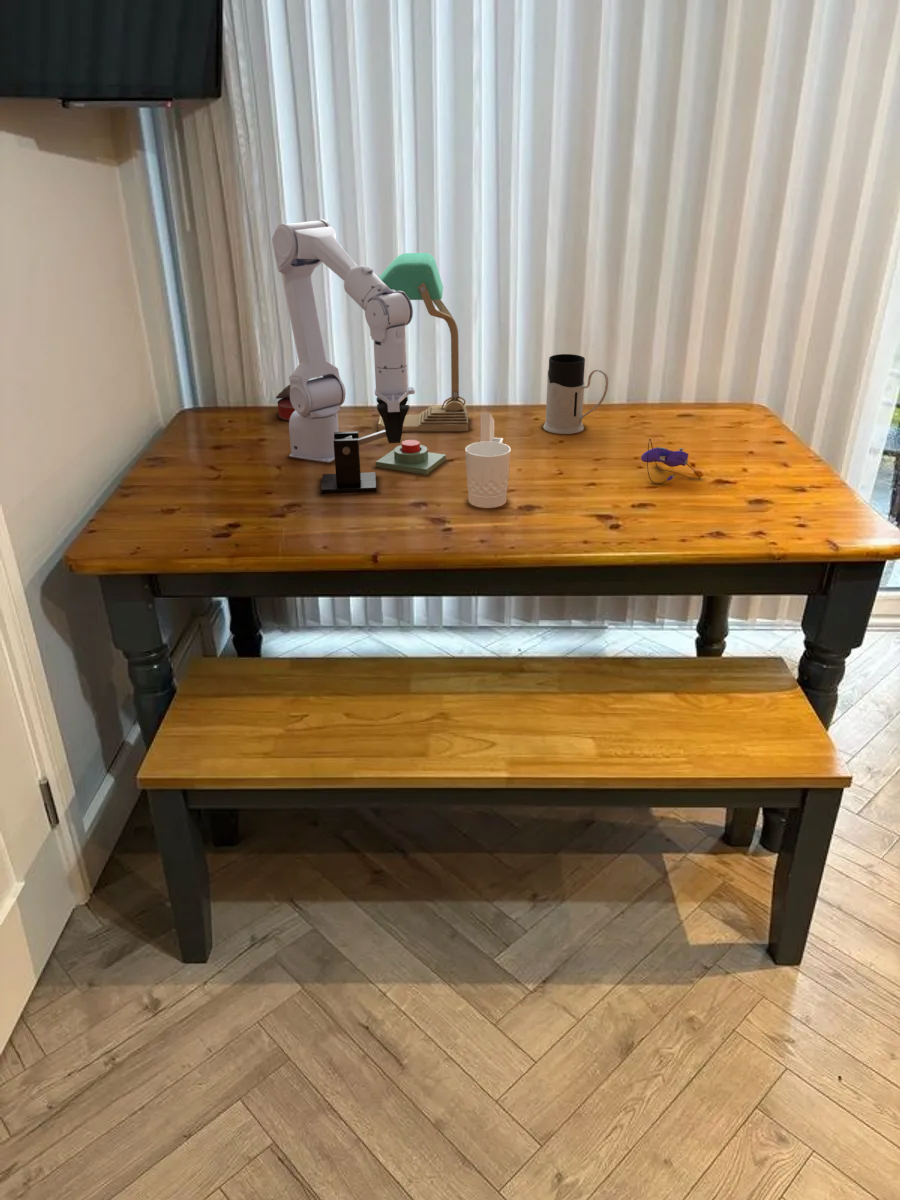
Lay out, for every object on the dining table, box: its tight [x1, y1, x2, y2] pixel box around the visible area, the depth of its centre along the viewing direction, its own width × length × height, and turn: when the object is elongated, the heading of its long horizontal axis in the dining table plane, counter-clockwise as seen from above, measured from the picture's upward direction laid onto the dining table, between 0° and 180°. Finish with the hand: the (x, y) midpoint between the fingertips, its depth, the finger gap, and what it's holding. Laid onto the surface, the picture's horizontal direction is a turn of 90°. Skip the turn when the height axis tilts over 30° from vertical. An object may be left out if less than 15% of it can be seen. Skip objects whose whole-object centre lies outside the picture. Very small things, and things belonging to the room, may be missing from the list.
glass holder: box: [542, 353, 609, 435], centre depth 201 cm, size 9×14×15 cm, turn 54°
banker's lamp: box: [377, 252, 469, 433], centre depth 200 cm, size 16×21×35 cm
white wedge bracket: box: [479, 411, 504, 444], centre depth 187 cm, size 4×10×9 cm
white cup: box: [464, 441, 512, 509], centre depth 167 cm, size 8×8×10 cm
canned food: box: [275, 384, 295, 421], centre depth 215 cm, size 11×10×10 cm
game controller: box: [640, 438, 701, 485], centre depth 179 cm, size 10×8×10 cm
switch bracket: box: [320, 430, 377, 495], centre depth 174 cm, size 10×8×10 cm
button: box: [400, 439, 421, 453], centre depth 185 cm, size 4×4×2 cm
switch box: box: [375, 444, 447, 475], centre depth 186 cm, size 11×9×3 cm
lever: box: [342, 430, 387, 446], centre depth 172 cm, size 12×3×3 cm, turn 96°
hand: (394, 439), depth 173 cm, fingers closed on lever, 3 cm apart
